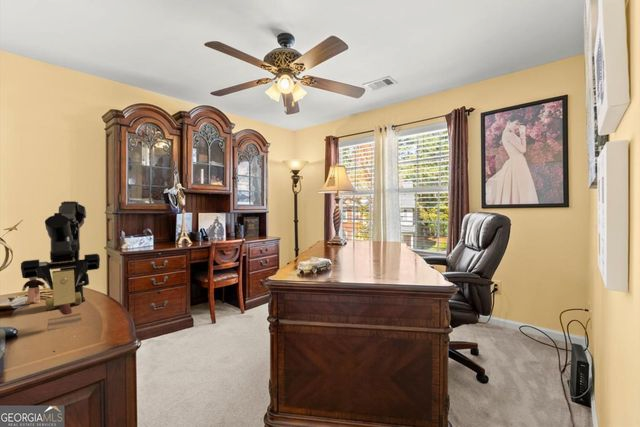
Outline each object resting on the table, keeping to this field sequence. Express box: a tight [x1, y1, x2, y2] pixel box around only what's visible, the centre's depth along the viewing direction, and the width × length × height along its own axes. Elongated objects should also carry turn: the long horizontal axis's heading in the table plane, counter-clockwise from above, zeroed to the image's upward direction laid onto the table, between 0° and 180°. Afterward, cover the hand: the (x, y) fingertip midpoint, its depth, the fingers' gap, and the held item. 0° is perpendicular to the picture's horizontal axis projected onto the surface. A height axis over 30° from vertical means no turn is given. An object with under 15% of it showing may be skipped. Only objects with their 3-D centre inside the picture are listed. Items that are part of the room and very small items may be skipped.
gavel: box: [45, 292, 82, 316], centre depth 107 cm, size 21×5×10 cm
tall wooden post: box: [51, 269, 75, 306], centre depth 91 cm, size 3×5×10 cm
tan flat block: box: [47, 313, 83, 332], centre depth 94 cm, size 12×8×2 cm
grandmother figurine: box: [21, 277, 47, 305], centre depth 118 cm, size 8×4×13 cm, turn 120°
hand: (64, 287), depth 90 cm, fingers closed on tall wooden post, 5 cm apart
